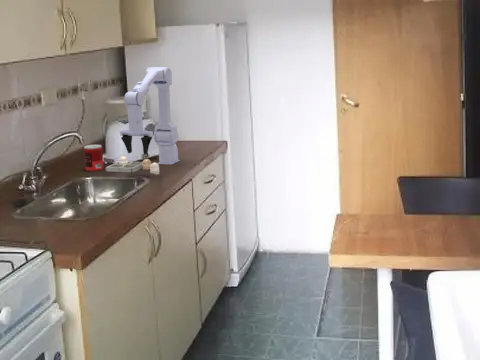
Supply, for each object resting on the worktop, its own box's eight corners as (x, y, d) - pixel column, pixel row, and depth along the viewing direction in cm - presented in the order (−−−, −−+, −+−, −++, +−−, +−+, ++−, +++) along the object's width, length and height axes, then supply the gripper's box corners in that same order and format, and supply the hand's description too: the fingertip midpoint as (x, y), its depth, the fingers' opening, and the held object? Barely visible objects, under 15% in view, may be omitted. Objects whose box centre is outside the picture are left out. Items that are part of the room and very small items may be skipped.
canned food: (105, 168, 304) (103, 144, 301) (100, 172, 296) (98, 147, 293) (89, 168, 304) (87, 144, 302) (83, 172, 297) (81, 147, 294)
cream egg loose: (152, 172, 292) (152, 161, 291) (160, 173, 290) (160, 161, 289) (148, 174, 288) (148, 163, 287) (157, 174, 287) (156, 163, 286)
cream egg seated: (122, 165, 305) (121, 155, 304) (129, 166, 304) (128, 155, 302) (117, 167, 301) (117, 156, 300) (125, 168, 300) (124, 157, 299)
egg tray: (120, 166, 307) (120, 161, 306) (147, 167, 303) (146, 162, 302) (105, 172, 295) (105, 167, 294) (133, 173, 291) (132, 168, 290)
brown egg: (145, 168, 300) (144, 158, 299) (153, 169, 299) (152, 158, 298) (141, 170, 297) (140, 159, 295) (149, 171, 295) (148, 160, 294)
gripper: (115, 121, 279) (117, 154, 282) (146, 122, 273) (148, 155, 276) (124, 119, 285) (126, 151, 288) (154, 120, 280) (156, 152, 283)
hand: (137, 153), depth 283 cm, fingers open, 7 cm apart
